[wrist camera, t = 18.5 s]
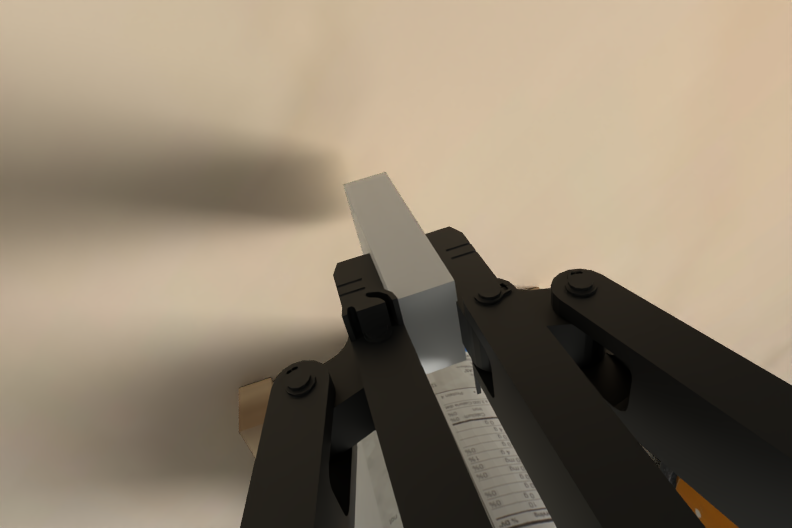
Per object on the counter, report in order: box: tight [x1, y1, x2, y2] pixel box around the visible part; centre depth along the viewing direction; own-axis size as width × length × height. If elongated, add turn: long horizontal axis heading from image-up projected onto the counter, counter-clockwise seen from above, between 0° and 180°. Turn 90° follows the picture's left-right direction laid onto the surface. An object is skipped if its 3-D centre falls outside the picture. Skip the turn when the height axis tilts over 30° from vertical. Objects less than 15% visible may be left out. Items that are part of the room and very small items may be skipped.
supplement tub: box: [355, 348, 557, 528], centre depth 20 cm, size 10×10×15 cm
